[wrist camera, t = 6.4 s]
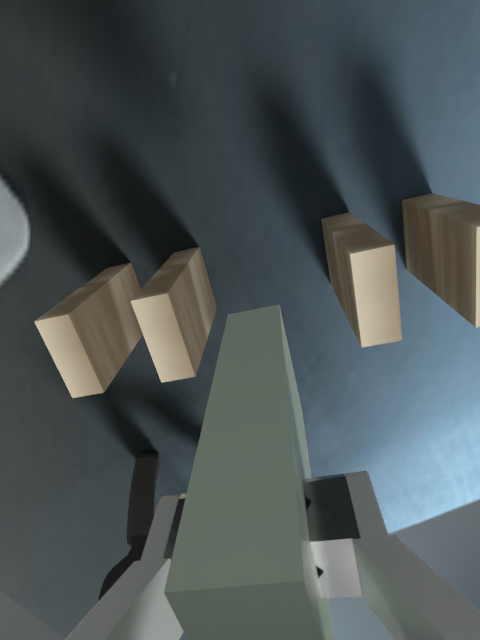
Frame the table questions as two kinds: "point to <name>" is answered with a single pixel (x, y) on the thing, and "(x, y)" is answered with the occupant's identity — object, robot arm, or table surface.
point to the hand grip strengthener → (137, 515)
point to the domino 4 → (363, 278)
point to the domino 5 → (445, 249)
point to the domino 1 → (93, 330)
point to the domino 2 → (176, 314)
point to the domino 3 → (249, 501)
